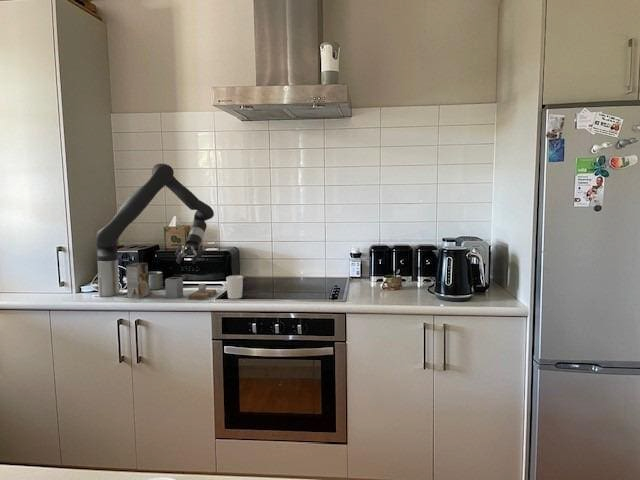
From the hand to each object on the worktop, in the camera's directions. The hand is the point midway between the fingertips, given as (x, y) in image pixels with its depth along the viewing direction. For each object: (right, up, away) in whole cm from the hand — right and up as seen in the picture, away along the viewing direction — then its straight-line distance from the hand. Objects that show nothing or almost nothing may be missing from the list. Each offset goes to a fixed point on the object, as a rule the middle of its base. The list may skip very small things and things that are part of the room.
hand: (185, 262), depth 228 cm
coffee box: (-20, -16, -8) cm, 27 cm away
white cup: (+27, -16, -11) cm, 33 cm away
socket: (-2, -16, -9) cm, 19 cm away
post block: (+11, -16, -9) cm, 21 cm away
